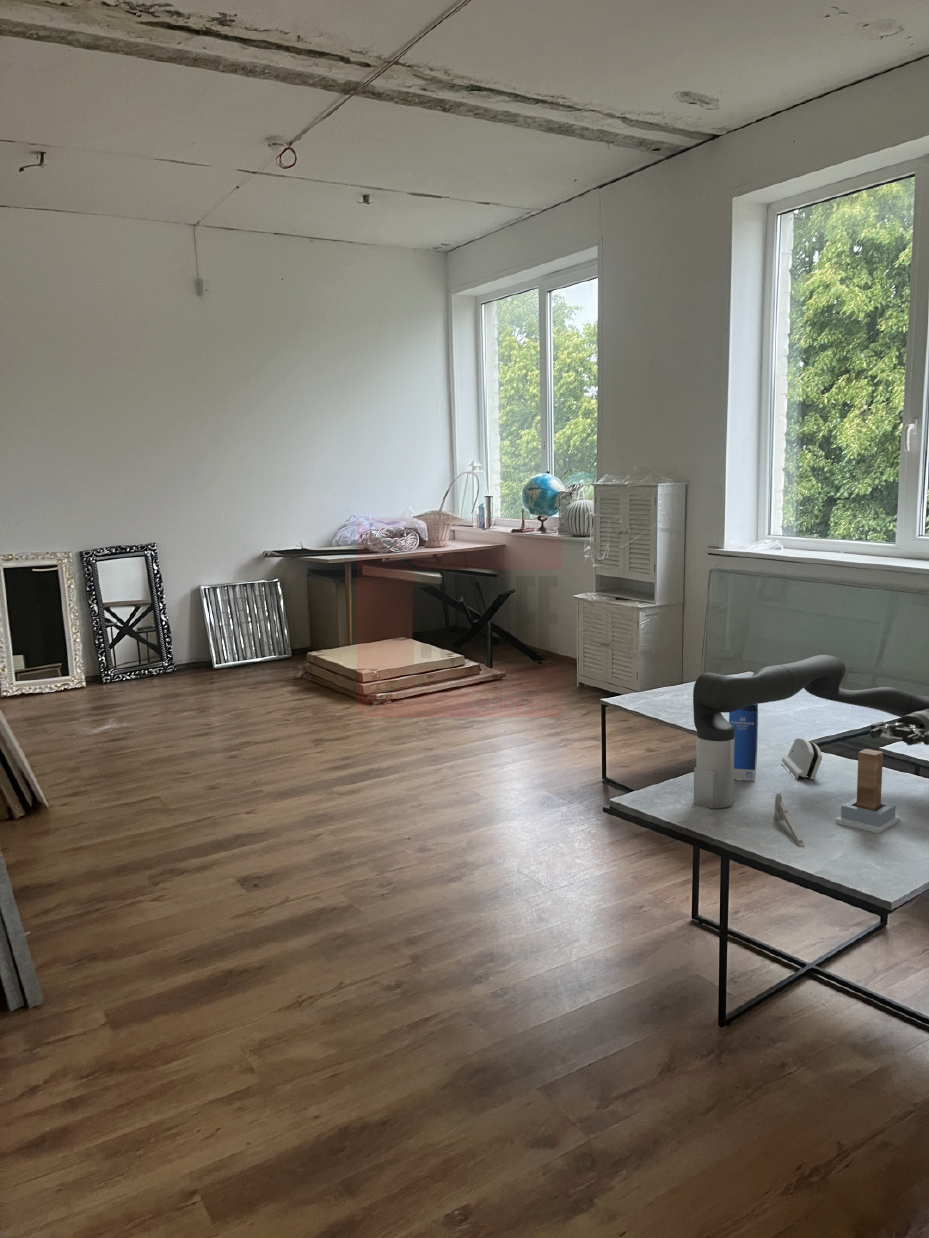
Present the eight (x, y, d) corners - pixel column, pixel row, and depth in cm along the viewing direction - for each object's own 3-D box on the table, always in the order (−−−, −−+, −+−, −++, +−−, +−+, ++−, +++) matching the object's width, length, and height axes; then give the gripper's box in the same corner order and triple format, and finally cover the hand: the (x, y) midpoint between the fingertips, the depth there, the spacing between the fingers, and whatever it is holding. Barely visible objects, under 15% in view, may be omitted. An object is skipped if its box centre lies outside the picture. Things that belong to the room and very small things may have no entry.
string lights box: (729, 766, 262) (731, 678, 258) (757, 768, 259) (759, 679, 256) (727, 779, 249) (728, 687, 246) (756, 782, 247) (758, 689, 244)
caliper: (774, 816, 221) (774, 791, 220) (778, 816, 221) (779, 791, 220) (799, 848, 200) (800, 820, 200) (804, 848, 200) (805, 820, 200)
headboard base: (878, 833, 207) (879, 816, 207) (835, 822, 215) (836, 806, 214) (899, 820, 216) (900, 804, 215) (858, 810, 223) (858, 794, 222)
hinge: (780, 762, 264) (792, 731, 263) (795, 768, 264) (808, 736, 263) (795, 779, 248) (809, 746, 246) (812, 785, 248) (826, 752, 246)
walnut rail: (872, 821, 212) (875, 755, 210) (856, 817, 215) (858, 752, 213) (880, 817, 215) (882, 751, 213) (863, 813, 218) (865, 748, 216)
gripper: (889, 708, 235) (862, 717, 225) (948, 717, 225) (922, 727, 214) (888, 736, 236) (860, 747, 226) (946, 746, 226) (920, 758, 215)
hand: (890, 737), depth 220 cm, fingers open, 8 cm apart
